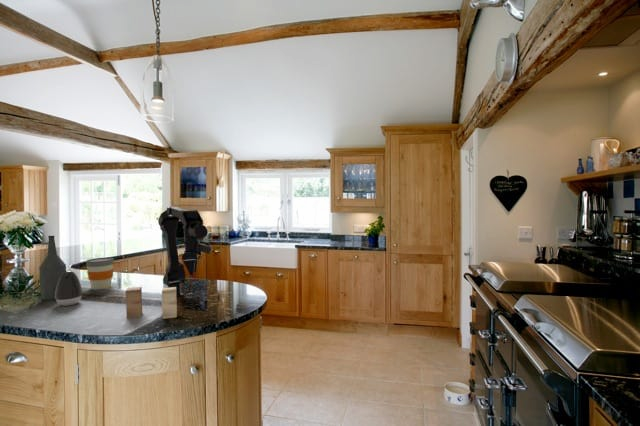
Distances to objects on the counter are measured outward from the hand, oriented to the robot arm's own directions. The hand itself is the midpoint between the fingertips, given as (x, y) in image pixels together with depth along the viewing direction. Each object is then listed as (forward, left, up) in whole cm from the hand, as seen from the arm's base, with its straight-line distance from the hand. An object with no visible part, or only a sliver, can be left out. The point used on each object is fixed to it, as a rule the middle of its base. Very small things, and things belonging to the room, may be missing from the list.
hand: (193, 273), depth 156 cm
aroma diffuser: (-43, -39, -14) cm, 60 cm away
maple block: (+6, -13, -14) cm, 20 cm away
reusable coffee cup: (-67, -21, -14) cm, 72 cm away
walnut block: (-5, -23, -14) cm, 27 cm away
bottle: (-62, -42, -14) cm, 76 cm away
